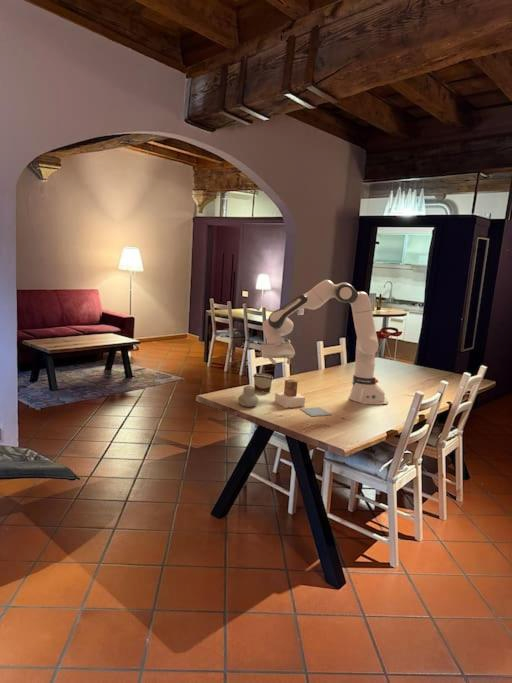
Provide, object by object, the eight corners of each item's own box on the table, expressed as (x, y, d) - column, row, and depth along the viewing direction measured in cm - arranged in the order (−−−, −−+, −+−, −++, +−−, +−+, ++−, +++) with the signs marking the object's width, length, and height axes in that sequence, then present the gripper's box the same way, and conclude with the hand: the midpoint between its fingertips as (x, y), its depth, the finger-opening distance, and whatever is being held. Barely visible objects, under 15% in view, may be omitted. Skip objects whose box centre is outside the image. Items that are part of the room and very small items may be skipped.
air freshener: (235, 403, 250) (236, 385, 249) (248, 401, 255) (249, 384, 254) (247, 409, 242) (249, 390, 240) (260, 407, 247) (261, 389, 245)
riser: (293, 399, 264) (294, 391, 264) (304, 406, 254) (305, 397, 253) (274, 401, 259) (275, 392, 259) (285, 407, 249) (285, 398, 248)
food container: (274, 391, 280) (276, 374, 279) (271, 393, 275) (273, 377, 273) (255, 387, 284) (256, 372, 283) (252, 390, 278) (253, 374, 277)
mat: (319, 408, 253) (319, 407, 252) (331, 415, 242) (331, 414, 242) (300, 409, 247) (300, 408, 247) (311, 416, 237) (311, 415, 237)
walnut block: (291, 393, 259) (293, 379, 258) (296, 396, 255) (297, 381, 253) (284, 394, 257) (285, 379, 256) (288, 396, 252) (289, 382, 251)
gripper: (261, 340, 265) (267, 361, 258) (292, 340, 273) (299, 360, 266) (257, 346, 269) (263, 367, 262) (288, 346, 278) (294, 365, 271)
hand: (281, 363), depth 264 cm, fingers open, 8 cm apart
